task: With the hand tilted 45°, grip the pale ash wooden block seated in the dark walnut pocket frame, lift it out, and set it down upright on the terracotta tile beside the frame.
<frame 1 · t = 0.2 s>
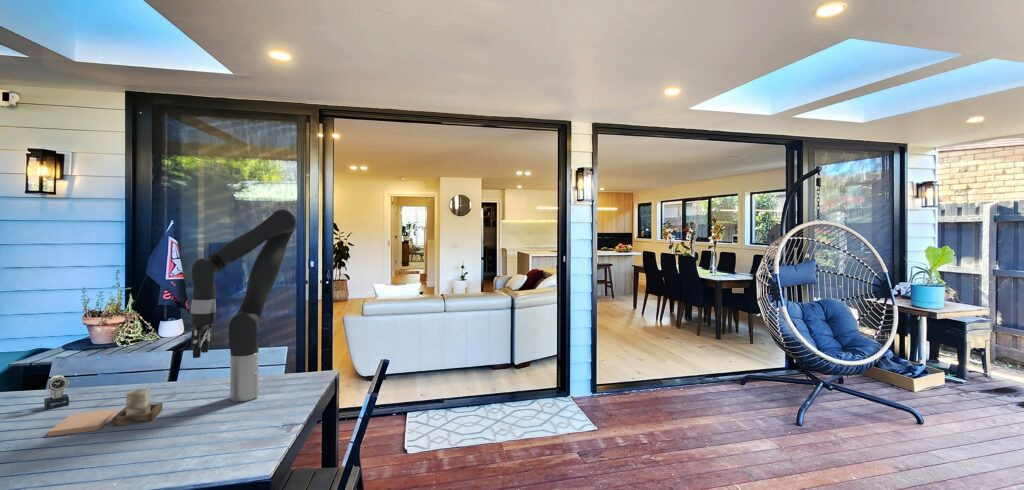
hand: (200, 354, 161), 18 cm above the table, tool pointing down, fingers open, 8 cm apart
walnut pocket frame: (138, 417, 148), on the table
terracotta tile: (84, 424, 142), on the table
watch: (57, 406, 156), on the table
ash block: (138, 404, 148), in the walnut pocket frame
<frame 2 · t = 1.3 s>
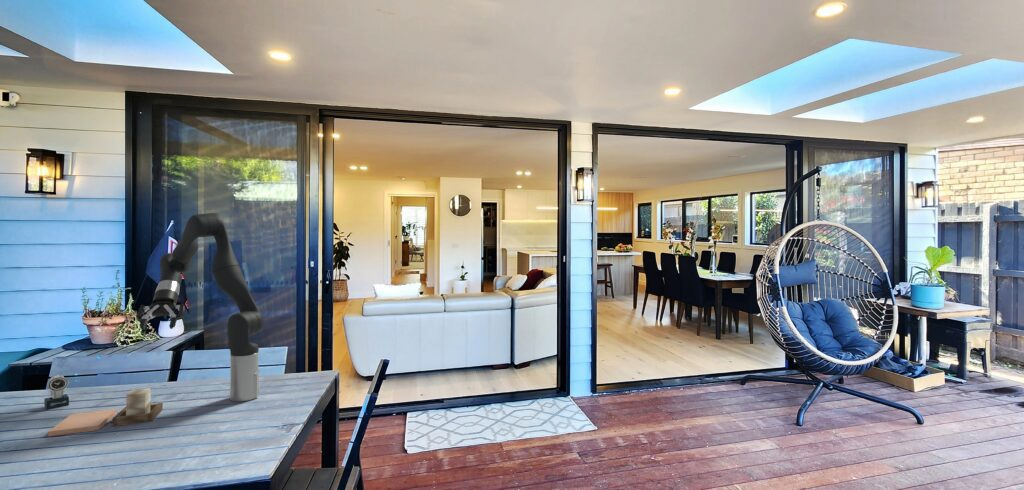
hand: (157, 328, 164), 27 cm above the table, tool tilted 45°, fingers open, 8 cm apart
nothing on the table moved.
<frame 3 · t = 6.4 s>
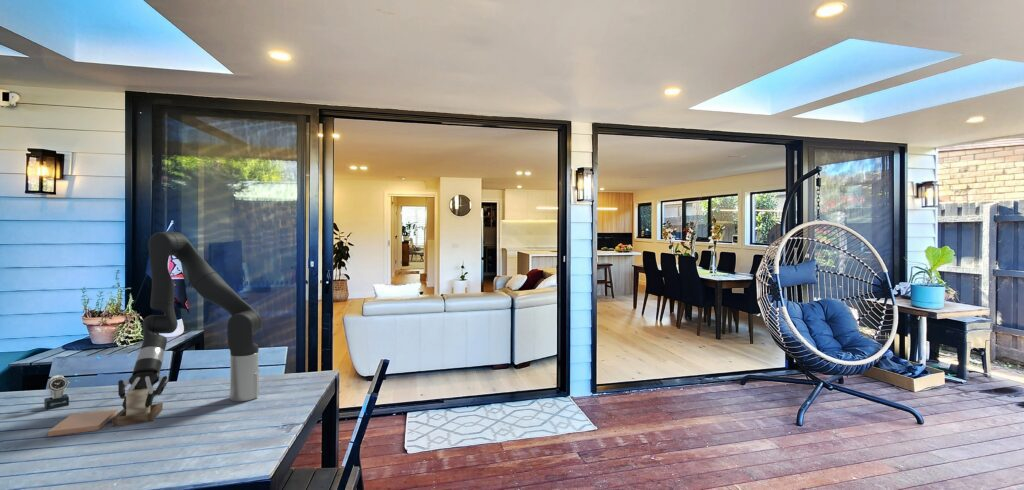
hand: (136, 407, 146), 4 cm above the table, tool tilted 45°, fingers closed on ash block, 5 cm apart
ash block: (138, 404, 148), in the walnut pocket frame, touching gripper
everything else where it was.
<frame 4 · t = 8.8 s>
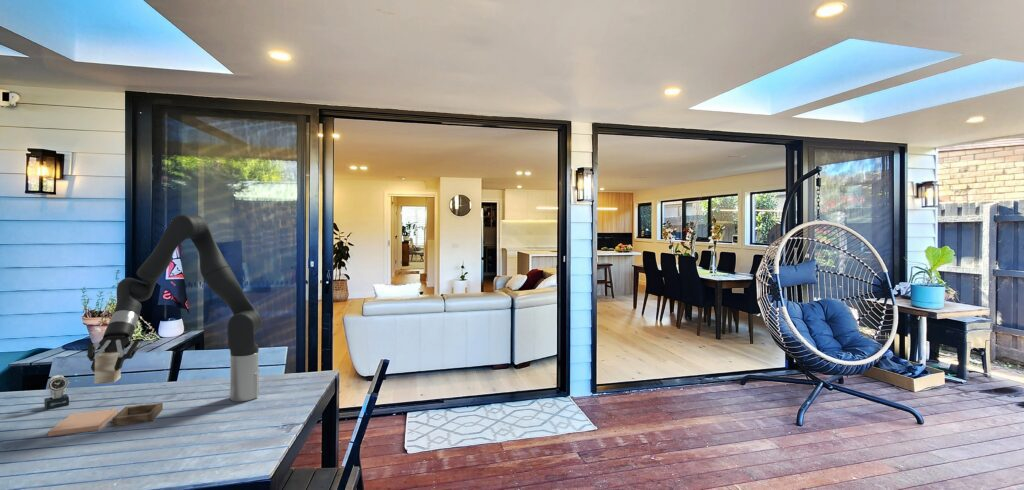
hand: (105, 370, 143), 18 cm above the table, tool tilted 45°, fingers closed on ash block, 5 cm apart
ash block: (108, 367, 145), point 18 cm above the table, touching gripper
everything else where it was.
when the fingers open (7 cm above the table, at t = 11.6 s): ash block drops 1 cm, resting on terracotta tile.
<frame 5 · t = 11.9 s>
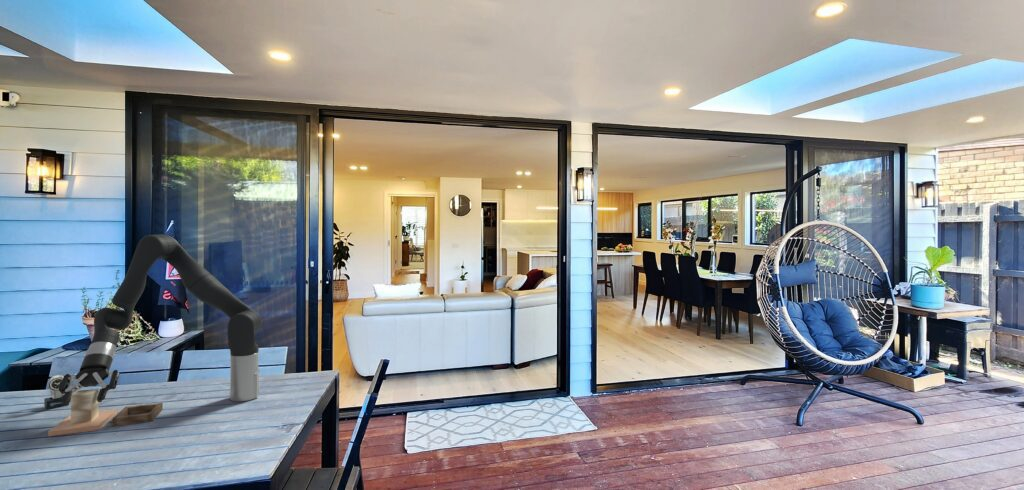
hand: (82, 402, 141), 8 cm above the table, tool tilted 45°, fingers open, 8 cm apart
ash block: (85, 405, 142), on the terracotta tile, point 6 cm above the table
everything else where it was.
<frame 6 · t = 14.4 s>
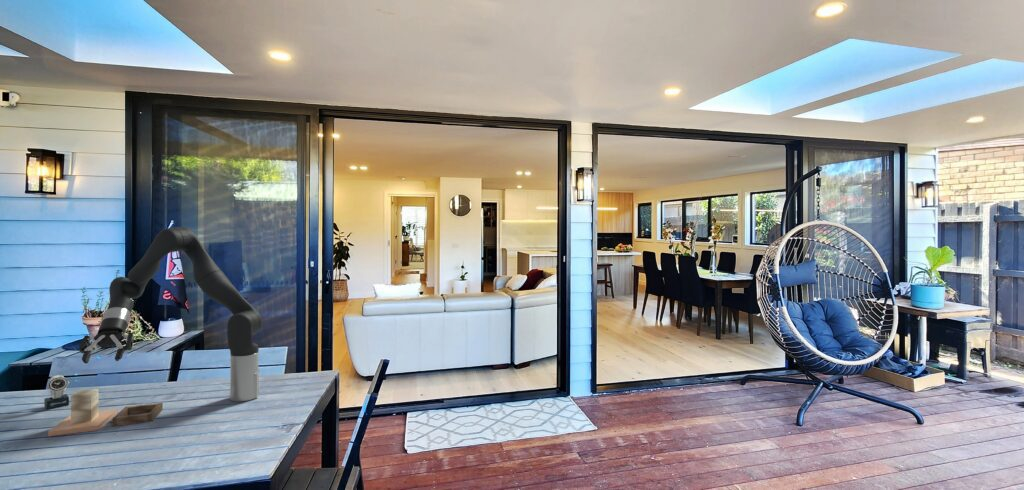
hand: (101, 361, 153), 18 cm above the table, tool tilted 45°, fingers open, 8 cm apart
nothing on the table moved.
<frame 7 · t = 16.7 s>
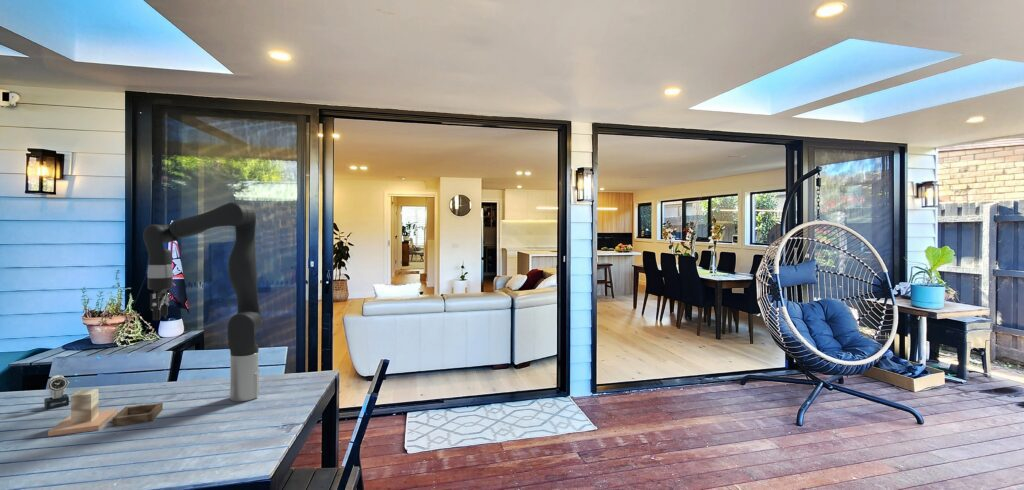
hand: (160, 318, 167), 30 cm above the table, tool pointing down, fingers open, 8 cm apart
nothing on the table moved.
at the end: ash block inside the target area on the terracotta tile (0.1 cm from its centre), point 6.0 cm above the terracotta tile's base; ash block tilted 0°; the gripper is holding nothing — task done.
